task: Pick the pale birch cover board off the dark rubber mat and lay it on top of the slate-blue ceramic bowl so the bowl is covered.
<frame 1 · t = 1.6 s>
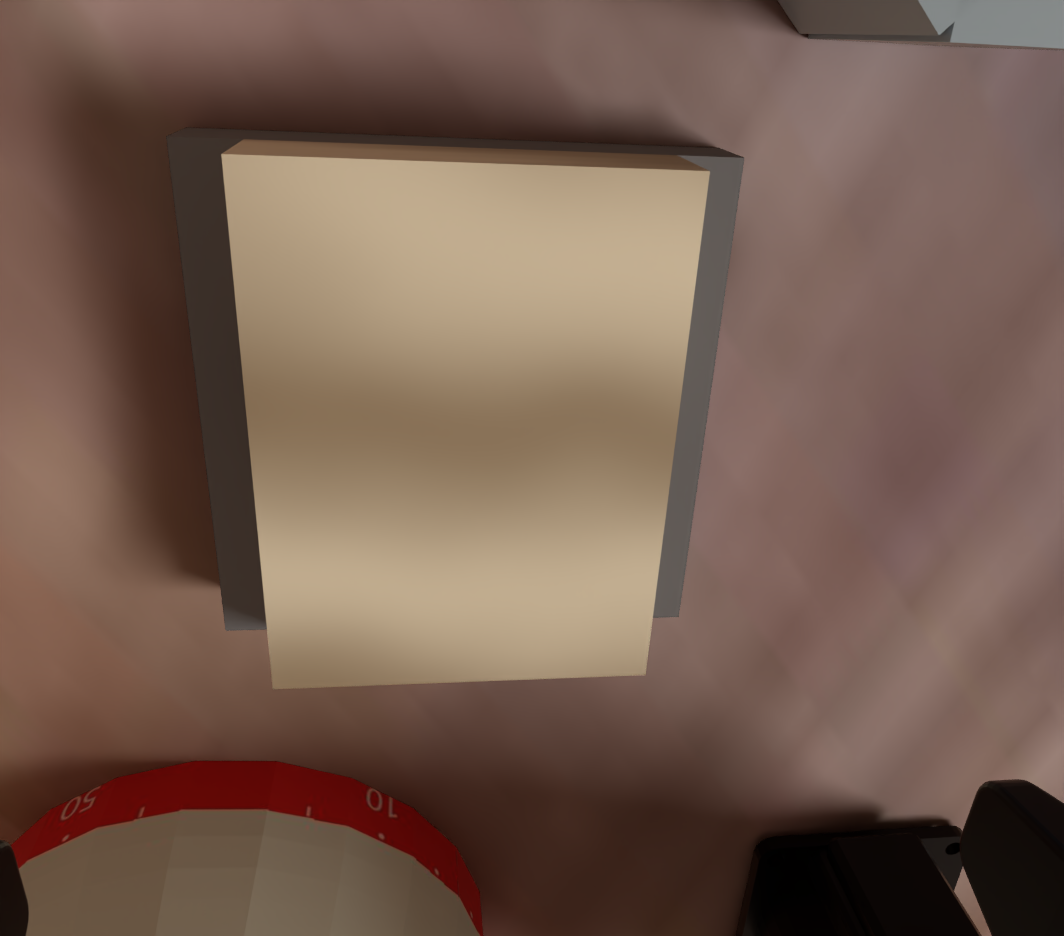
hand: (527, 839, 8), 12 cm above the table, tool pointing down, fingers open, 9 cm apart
mat: (459, 387, 19), on the table
cover board: (462, 414, 18), point 1 cm above the table, touching mat
kitchen timer: (242, 935, 26), on the table
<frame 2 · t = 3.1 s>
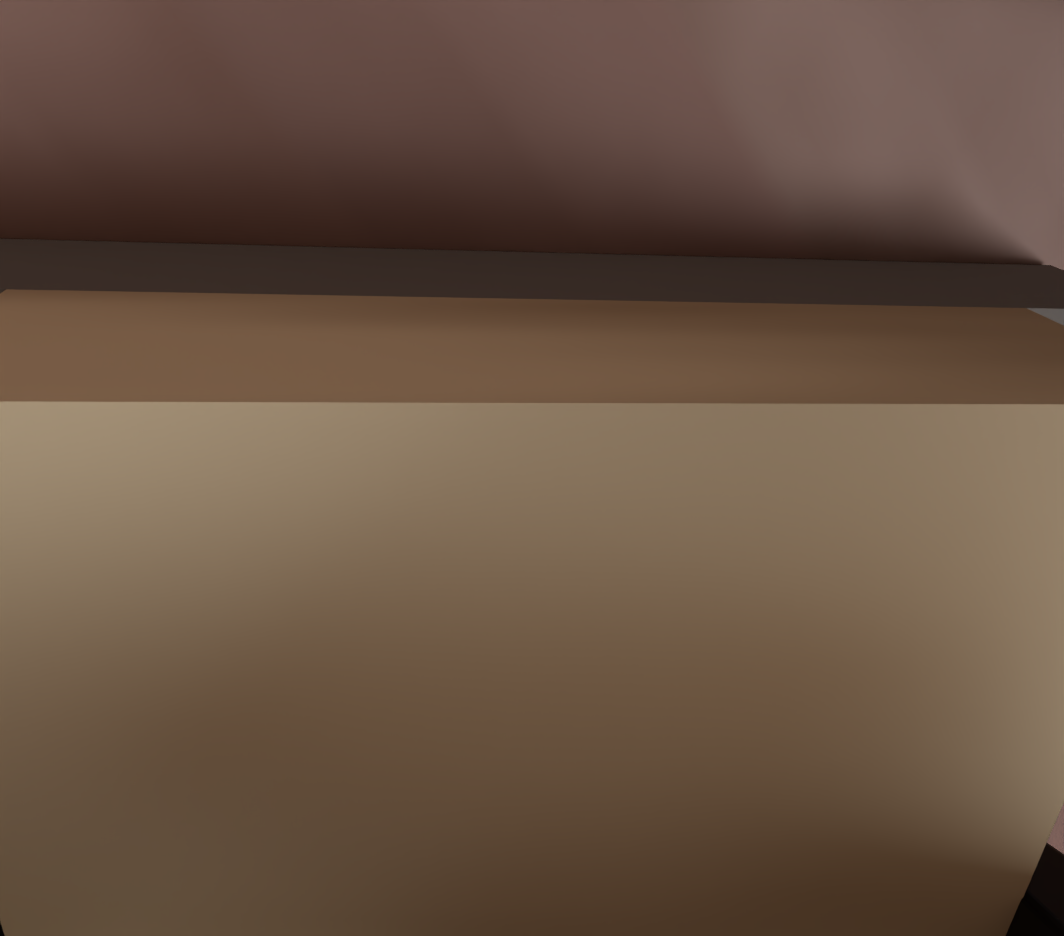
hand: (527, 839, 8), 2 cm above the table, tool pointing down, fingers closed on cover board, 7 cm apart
mat: (506, 698, 10), on the table
cover board: (522, 801, 9), point 1 cm above the table, touching gripper, mat
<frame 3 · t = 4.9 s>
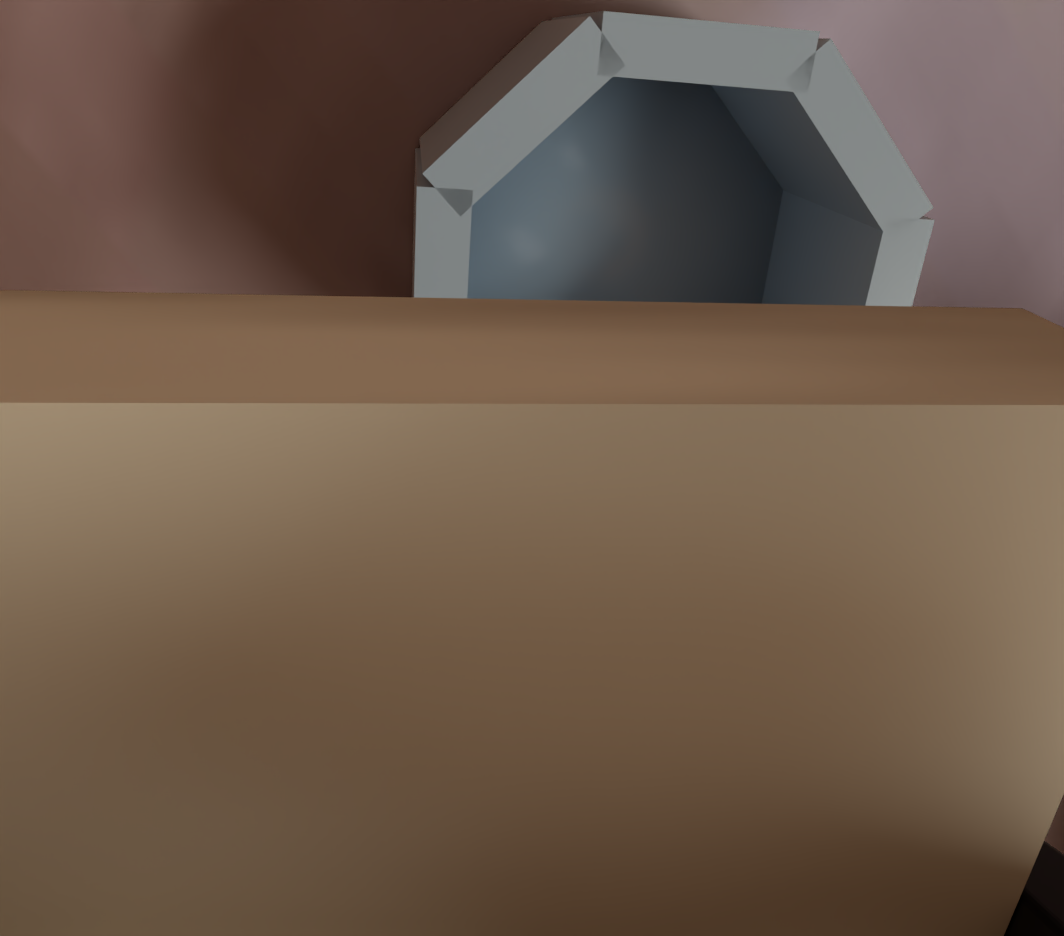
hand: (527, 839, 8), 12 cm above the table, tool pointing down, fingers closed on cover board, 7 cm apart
bowl: (608, 240, 19), on the table
cover board: (518, 802, 9), point 12 cm above the table, touching gripper
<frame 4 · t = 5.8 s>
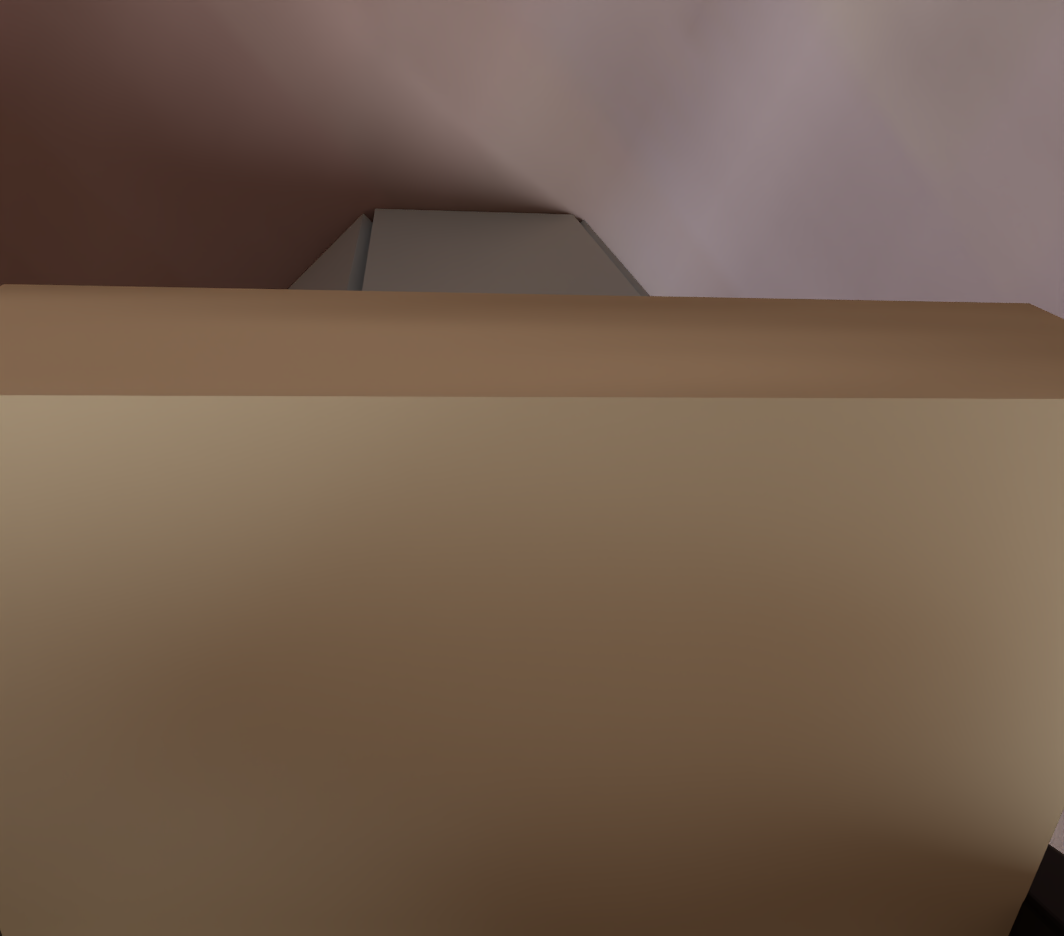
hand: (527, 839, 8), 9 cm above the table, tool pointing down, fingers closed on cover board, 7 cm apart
bowl: (469, 443, 16), on the table
cover board: (522, 800, 9), point 8 cm above the table, touching gripper
when the fingers open (7 cm above the table, at t = 6.7 s): cover board drops 1 cm, resting on bowl.
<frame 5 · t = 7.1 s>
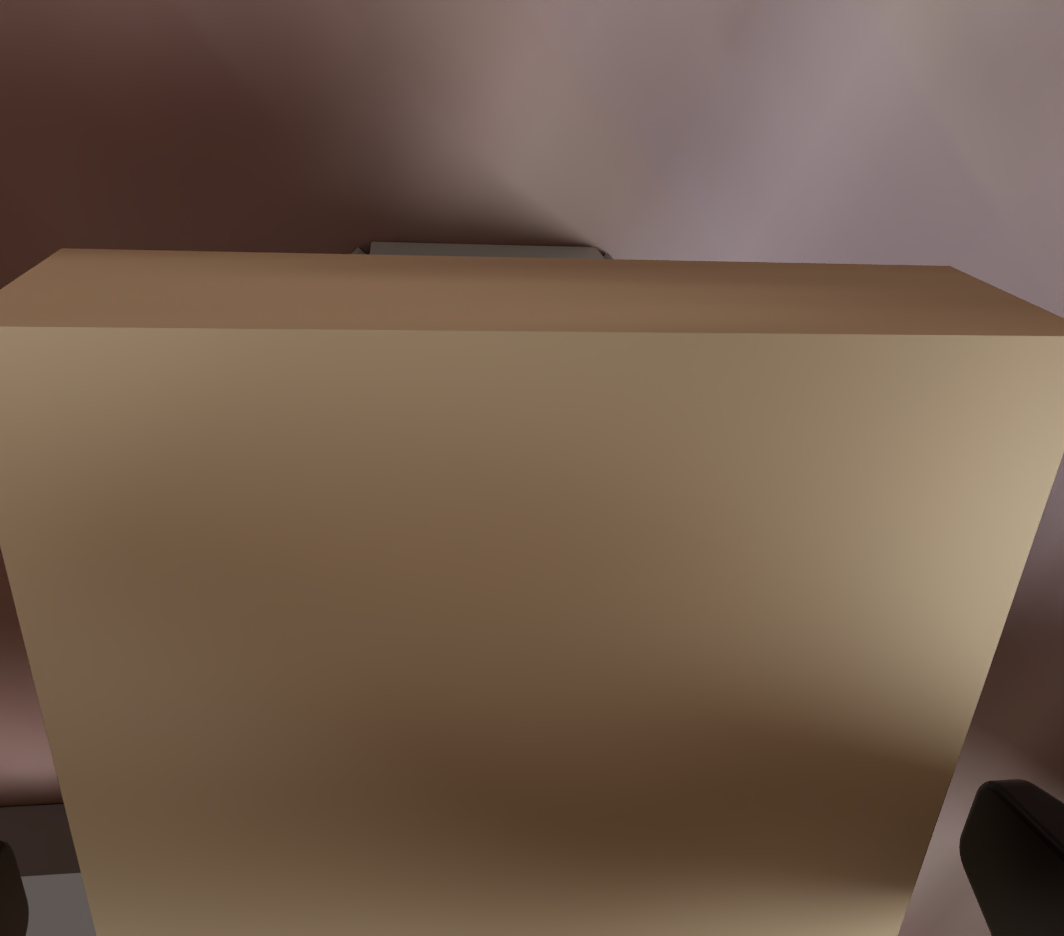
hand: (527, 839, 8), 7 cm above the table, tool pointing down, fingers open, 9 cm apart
bowl: (477, 499, 14), on the table
cover board: (511, 717, 10), point 5 cm above the table, touching bowl
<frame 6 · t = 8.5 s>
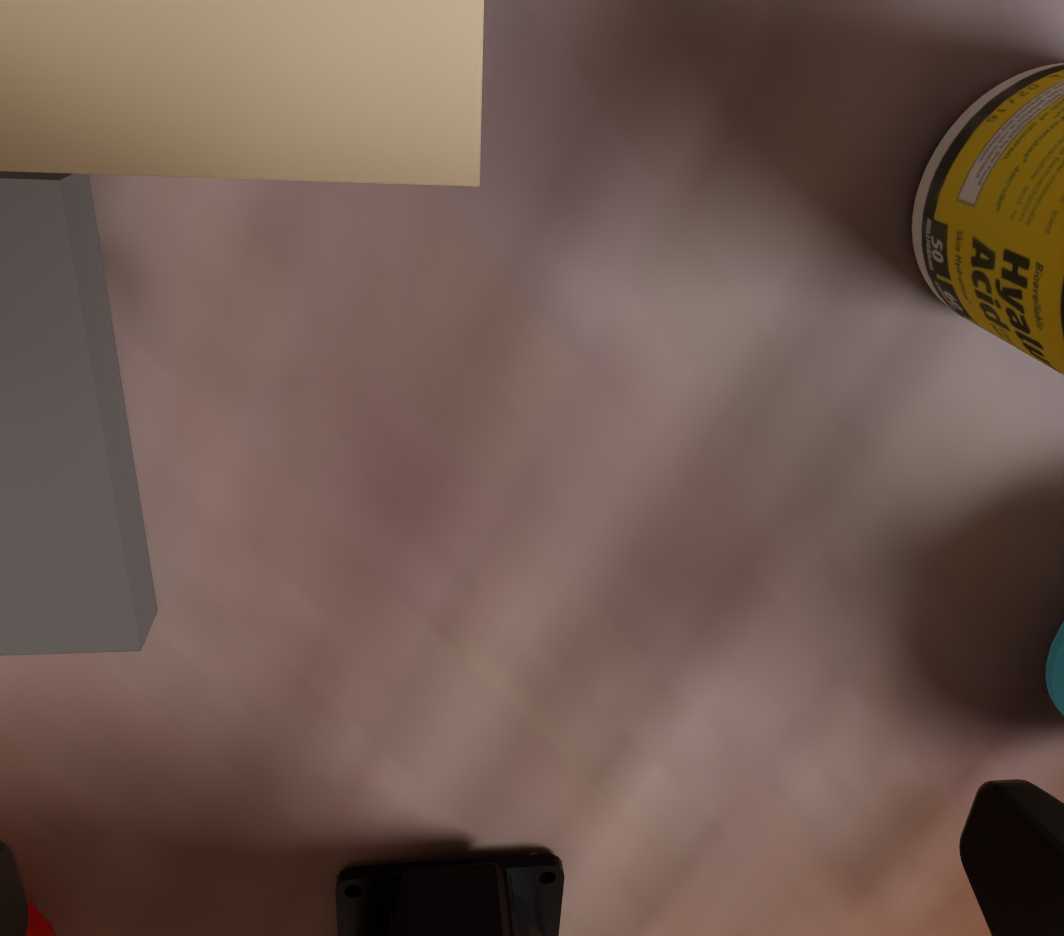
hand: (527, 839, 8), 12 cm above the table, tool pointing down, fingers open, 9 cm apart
supplement bottle: (1017, 198, 20), on the table
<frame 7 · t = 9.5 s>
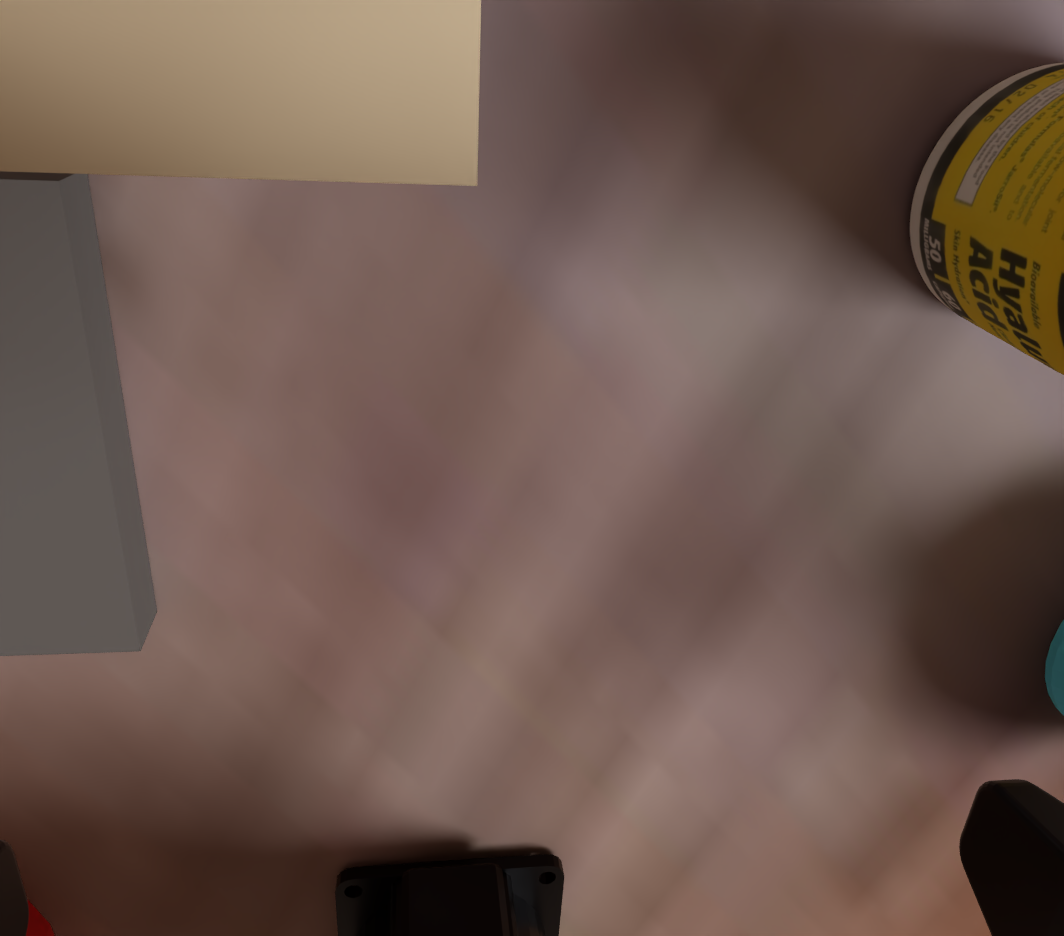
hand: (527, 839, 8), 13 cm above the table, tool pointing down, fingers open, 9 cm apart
supplement bottle: (1015, 198, 20), on the table
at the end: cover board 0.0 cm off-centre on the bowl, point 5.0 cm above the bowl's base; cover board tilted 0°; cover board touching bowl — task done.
